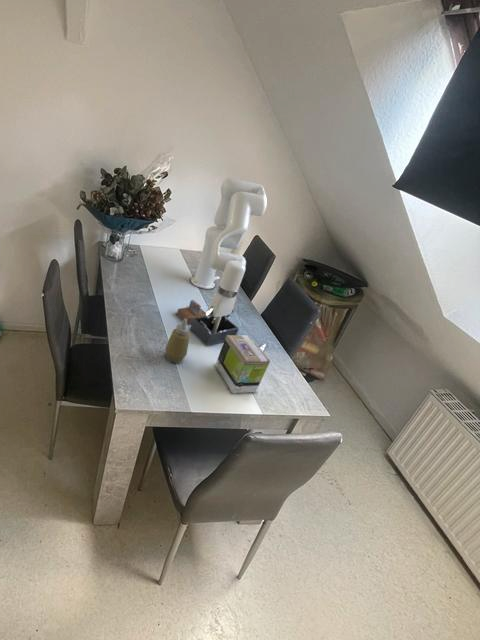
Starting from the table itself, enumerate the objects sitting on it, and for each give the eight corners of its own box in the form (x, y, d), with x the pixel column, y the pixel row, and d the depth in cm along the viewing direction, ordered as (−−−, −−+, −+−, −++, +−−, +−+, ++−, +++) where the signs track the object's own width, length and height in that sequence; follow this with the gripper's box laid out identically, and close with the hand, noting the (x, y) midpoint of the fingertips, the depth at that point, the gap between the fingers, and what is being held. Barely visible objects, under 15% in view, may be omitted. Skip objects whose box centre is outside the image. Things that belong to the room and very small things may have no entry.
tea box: (256, 392, 137) (271, 361, 129) (231, 393, 134) (245, 361, 126) (237, 364, 149) (250, 334, 141) (214, 365, 146) (225, 334, 139)
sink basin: (217, 323, 172) (220, 313, 169) (234, 339, 164) (238, 328, 161) (189, 329, 165) (193, 318, 162) (206, 345, 156) (210, 334, 153)
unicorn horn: (273, 349, 162) (277, 340, 159) (250, 374, 145) (254, 364, 143) (263, 343, 164) (267, 334, 162) (239, 367, 148) (243, 357, 145)
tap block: (194, 309, 179) (196, 304, 178) (207, 321, 172) (209, 315, 171) (175, 313, 174) (177, 307, 172) (188, 325, 167) (190, 319, 166)
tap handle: (188, 308, 173) (190, 299, 171) (190, 308, 174) (193, 299, 171) (195, 315, 169) (198, 306, 167) (198, 314, 170) (201, 305, 168)
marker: (213, 330, 165) (221, 305, 158) (216, 334, 163) (226, 308, 156) (208, 331, 164) (217, 306, 157) (212, 335, 162) (221, 309, 155)
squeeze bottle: (179, 368, 141) (191, 329, 132) (159, 358, 145) (170, 319, 135) (187, 357, 148) (199, 319, 138) (168, 348, 151) (179, 310, 141)
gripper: (236, 284, 159) (223, 319, 169) (205, 288, 151) (193, 325, 161) (249, 293, 154) (235, 329, 164) (217, 298, 146) (204, 336, 156)
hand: (214, 327), depth 162 cm, fingers open, 5 cm apart
